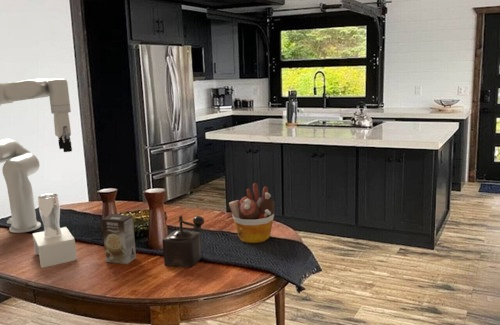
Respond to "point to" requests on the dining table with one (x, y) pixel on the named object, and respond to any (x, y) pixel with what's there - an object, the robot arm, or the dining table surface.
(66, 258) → the white block
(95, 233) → the dining table surface
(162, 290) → the dining table surface
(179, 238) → the manual coffee grinder
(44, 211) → the beer glass
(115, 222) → the coffee box
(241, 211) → the bucket of meat
